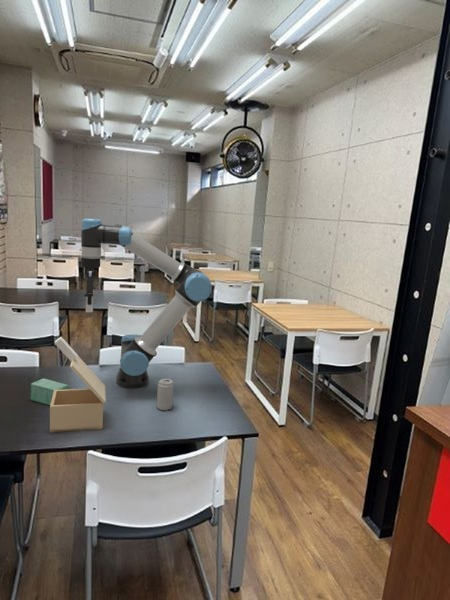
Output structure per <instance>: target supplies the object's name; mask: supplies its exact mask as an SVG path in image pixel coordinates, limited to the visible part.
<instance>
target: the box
mask: <svg viewBox="0 0 450 600" xmlns="http://www.w3.org/2000/svg"><path fill="white" fill-rule="evenodd" d="M65 389H70V387H69V384H66V383H63V382H58V381H55V380H52V379H51V380H50V379H48V378H44V377H43V378H41V379H39V380H36V381H33V382H31V383H30V400H31V401H33V402H37V403H40V404H43V405H48V406H50V404H51V400H52V396H53V392H54V390H65Z"/></svg>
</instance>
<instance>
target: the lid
mask: <svg viewBox="0 0 450 600" xmlns="http://www.w3.org/2000/svg"><path fill="white" fill-rule="evenodd" d="M54 345H55V346H56V347H57V348H58V349H59V350H60V351H61V352H62V353H63V355H65V357H66V358H67V360H69V361H70V369H71V370H73V372H74V373H75V374H76V376H77V377H79V379H80V380H81V381H82V382H83V383H84V384H85V385H86V387H88V389H91V391H92V392H93V393H94V394H95V395H96V396H97V397H98V398H99V399H100V400H101V401H102V403H103V404H105V403H106V402H107V401H106V398H107V397H106V385H105V384H104V383H103V382H102V381H101V379H100V378H99V377H98V376H97V375H96V374H95V373H94V371H92V370H91V369H90V367H89V366H88V365H87V364H86V363H85V362H84V361H83V359H81V357H80V356H79V355H78V353H77V352H76V351H75V350H74V349H73V348H72V347H71V345H70V344H69V343H68V342H67V341H66V340H65V339H64V338H63V337H62V336H59V338H57V339H56V340H54Z"/></svg>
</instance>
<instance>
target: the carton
mask: <svg viewBox="0 0 450 600" xmlns="http://www.w3.org/2000/svg"><path fill="white" fill-rule="evenodd" d="M103 423H104V403H102V401H101V400H100V399H99V398H98V397H97V396H96V395H95V394H94V393H93V392H92V391H91V389H90V388H72V389H71V388H69V389H65V390H54V392H53V396H52V400H51V404H50V405H49V433H51V434H52V433H65V432H79V431H93V430H103V427H104V426H103Z"/></svg>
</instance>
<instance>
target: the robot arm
mask: <svg viewBox="0 0 450 600" xmlns="http://www.w3.org/2000/svg"><path fill="white" fill-rule="evenodd" d="M132 231H133V230H132V228H131V227H130V226H123V225H122V224H118V223H117V224H114V225H112V224H111V225H109V224H103V223H102V220H101V219H97V218H83V219H82V220H81V231H80V233H81V237H80V238H81V239H80V241H81V243H80V244H81V245H80V247H81V248H79V251H80V253H81V255H80V256H81V258H80V267H82V268H87V270H85V273H84V274H85V275H84V276H85V282H86V293H84V294H83V295H84V297H85V313H94V291H95V290H96V286H95V285H94V283H95V281H96V280H95V279H96V271H95V270H94V269H99V268H100V267H101V258H100V257H101V256H102V255H101V254H102V248H101V247H102V246H101V244H104V245H105V244H106V245H108V244H109V245H119V246H121V247H123V248H124V249H126V250H128V251H130V253H133V254H134V255H135V256H137V257H138V258H140V259H142V260H144V261H145V262H147V263H149V264H150V265H152V266H153V267H155V268H156V269H158V270H160V271H161V272H163V273H165V274H166V275H168V276H170V278H171V280H172V281H173V282H175V283H176V284H177V285H178V286H177V288H176V289H175V290H174V293H175V295H174V296H173V298H172V299H171V300H170V301H169V302H168V304H167V305H166V306H165V307H164V309H162V310H161V312H160V314H159V315H158V316H156V318H155V319H154V320H153V321H152V323H151V324H150V325H149V326H148V327H147V328H146V330H145V331H144V332H143V333H142V334H125V335H122V337H121V341H120V343H121V350H120V360H119V364H120V367H119V369H118V372H117V375H116V378H115V379H116V380H115V382H116V384H117V385H118V386H119V387H122V388H126V389H140V388H143V387H145V386H147V385H148V384H149V374H148V368H149V365H150V363H151V361H152V360H153V358H154V357H155V356H156V354H157V352H156V350H157V348H158V347H159V346H160V345H161V344H162V342H164V340H165V339H166V337H167V336H169V334H171V332H172V330H173V329H174V328H175V327H176V326H177V325H178V323H179V322H180V321H181V320H182V319H183V317H184V316H185V315H186V314H187V313H188V311H190V309H192V308H197V306H198V305H199V304H200V303H201V302H203V301H206V299H207V298H209V296H210V294H211V293H212V282H211V280H210V277H208V276H207V275H206V274H205V273H204V272H202V271H201V270H199V269H197V268H194V267H192V266H190V265H188V264H186V263H185V262H179V261H177V260H176V259H174V258H173V257H172V256H170V255H168V254H167V253H165V252H164V251H162V250H160V249H159V248H158V247H156V246H154V245H153V244H151V243H149V242H148V241H146V240H145V239H143V238H142V237H141V236H138V234H137V235H136V234H135V233H134V232H132Z"/></svg>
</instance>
